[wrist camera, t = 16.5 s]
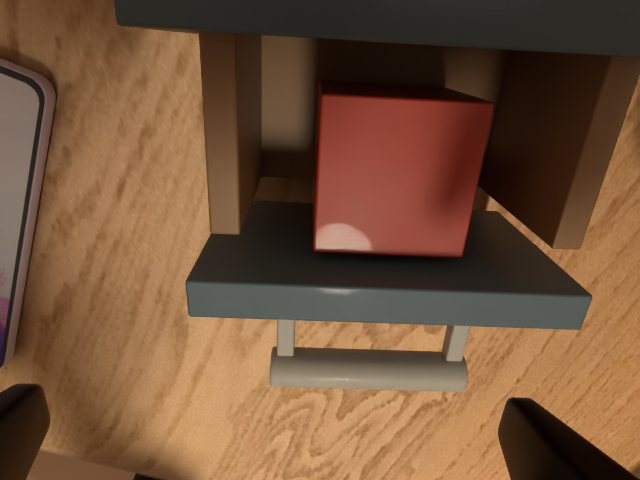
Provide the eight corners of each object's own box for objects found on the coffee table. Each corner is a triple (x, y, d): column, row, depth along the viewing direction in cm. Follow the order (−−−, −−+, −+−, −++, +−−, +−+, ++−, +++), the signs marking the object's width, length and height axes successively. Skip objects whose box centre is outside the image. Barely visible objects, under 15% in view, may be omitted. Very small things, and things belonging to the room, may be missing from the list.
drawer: (472, 316, 20) (542, 434, 14) (232, 308, 20) (197, 426, 14) (589, -166, 13) (839, -355, 7) (214, -196, 13) (121, -430, 6)
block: (425, 207, 17) (462, 259, 13) (312, 202, 17) (312, 253, 13) (445, 86, 15) (496, 102, 11) (318, 80, 15) (321, 93, 11)
